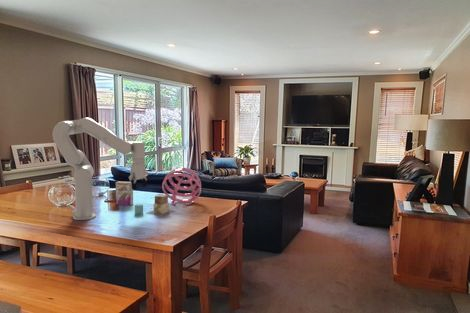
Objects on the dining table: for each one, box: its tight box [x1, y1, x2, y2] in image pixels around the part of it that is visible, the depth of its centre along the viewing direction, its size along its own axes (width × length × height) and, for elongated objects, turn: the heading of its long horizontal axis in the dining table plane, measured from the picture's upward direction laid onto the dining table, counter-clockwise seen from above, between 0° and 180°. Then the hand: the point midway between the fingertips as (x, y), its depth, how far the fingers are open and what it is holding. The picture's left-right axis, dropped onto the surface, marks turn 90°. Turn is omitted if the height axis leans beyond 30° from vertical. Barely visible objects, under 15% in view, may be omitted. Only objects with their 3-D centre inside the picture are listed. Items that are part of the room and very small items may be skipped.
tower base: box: [153, 201, 170, 214], centre depth 211 cm, size 7×7×6 cm
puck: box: [134, 203, 144, 216], centre depth 205 cm, size 5×5×6 cm
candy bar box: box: [115, 180, 134, 206], centre depth 230 cm, size 11×5×16 cm, turn 84°
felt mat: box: [145, 209, 176, 217], centre depth 211 cm, size 14×14×1 cm
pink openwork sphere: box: [161, 167, 202, 206], centre depth 234 cm, size 28×28×27 cm
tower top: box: [154, 193, 169, 205], centre depth 210 cm, size 6×6×5 cm
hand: (139, 187), depth 204 cm, fingers open, 9 cm apart
